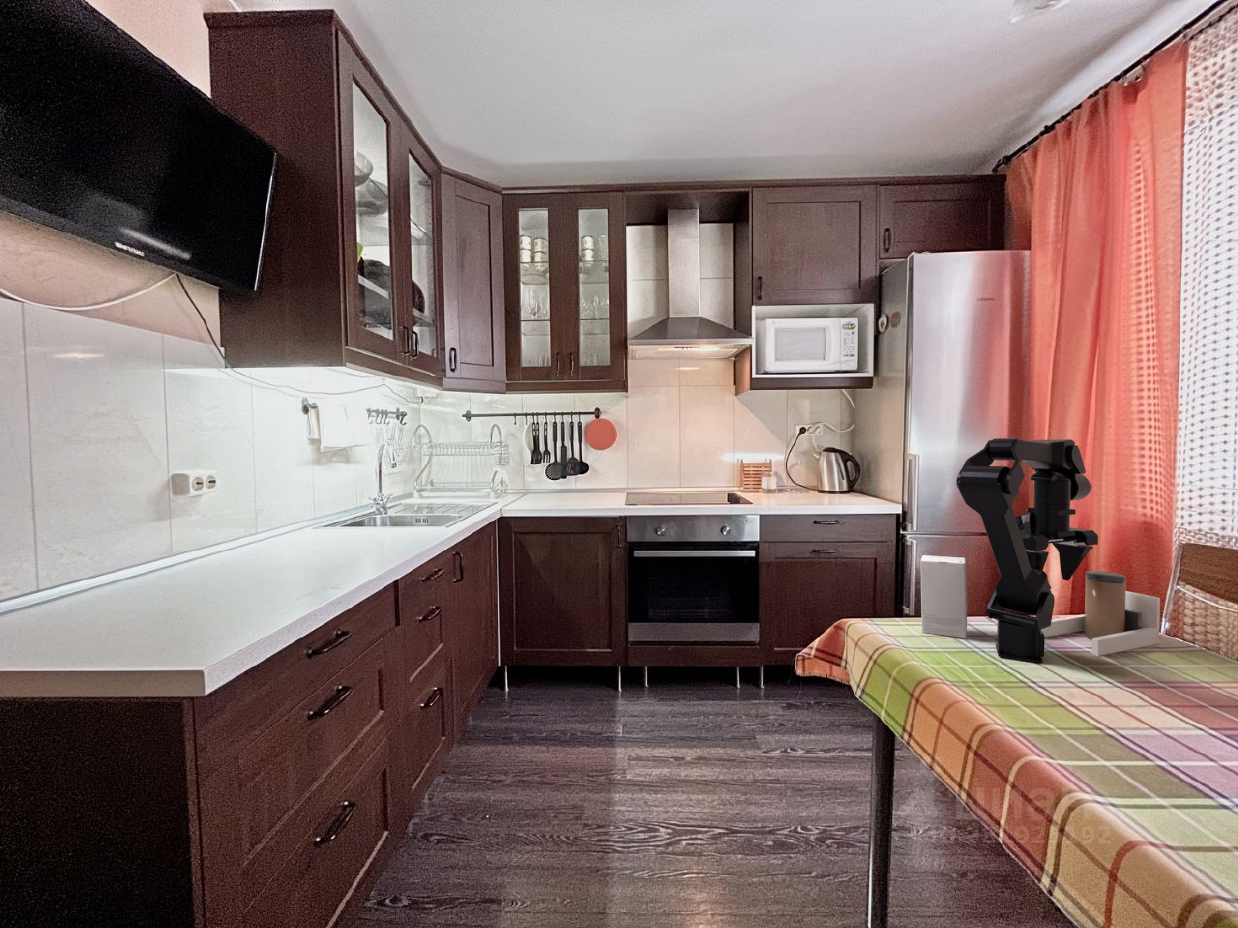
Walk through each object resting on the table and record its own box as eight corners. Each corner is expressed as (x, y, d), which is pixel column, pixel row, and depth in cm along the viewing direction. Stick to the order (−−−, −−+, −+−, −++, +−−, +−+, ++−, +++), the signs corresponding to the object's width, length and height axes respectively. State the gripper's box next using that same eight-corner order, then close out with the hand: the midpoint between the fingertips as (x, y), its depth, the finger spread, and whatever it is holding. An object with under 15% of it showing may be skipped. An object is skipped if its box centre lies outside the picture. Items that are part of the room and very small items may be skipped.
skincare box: (966, 630, 116) (967, 557, 115) (966, 640, 110) (967, 563, 110) (921, 624, 120) (922, 553, 120) (919, 632, 115) (920, 558, 114)
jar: (1088, 640, 110) (1089, 575, 109) (1081, 631, 115) (1082, 569, 114) (1128, 645, 106) (1129, 579, 106) (1119, 636, 112) (1121, 573, 111)
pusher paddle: (1137, 640, 108) (1138, 612, 108) (1091, 628, 115) (1091, 602, 115) (1141, 640, 108) (1141, 612, 108) (1094, 627, 116) (1094, 601, 115)
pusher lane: (1097, 656, 101) (1098, 607, 101) (1035, 636, 112) (1036, 592, 112) (1158, 643, 108) (1160, 597, 107) (1094, 626, 118) (1095, 584, 118)
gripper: (1040, 497, 119) (1039, 569, 119) (977, 501, 112) (976, 577, 113) (1100, 502, 108) (1098, 581, 109) (1034, 507, 102) (1033, 590, 102)
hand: (1049, 582), depth 108 cm, fingers open, 9 cm apart
